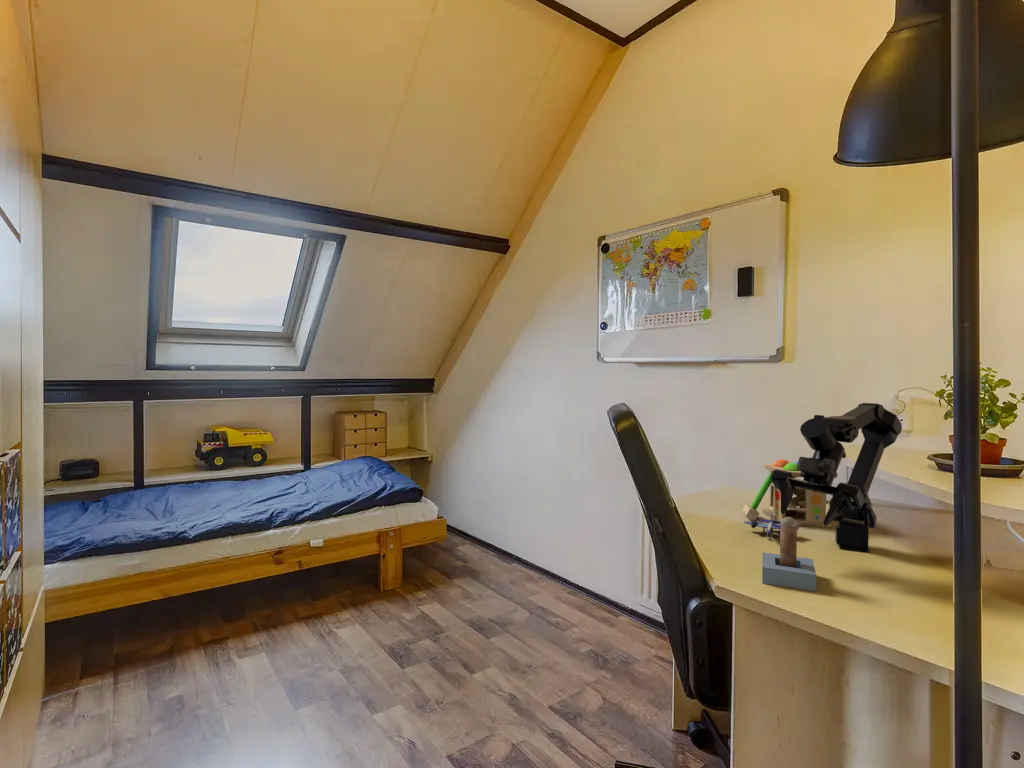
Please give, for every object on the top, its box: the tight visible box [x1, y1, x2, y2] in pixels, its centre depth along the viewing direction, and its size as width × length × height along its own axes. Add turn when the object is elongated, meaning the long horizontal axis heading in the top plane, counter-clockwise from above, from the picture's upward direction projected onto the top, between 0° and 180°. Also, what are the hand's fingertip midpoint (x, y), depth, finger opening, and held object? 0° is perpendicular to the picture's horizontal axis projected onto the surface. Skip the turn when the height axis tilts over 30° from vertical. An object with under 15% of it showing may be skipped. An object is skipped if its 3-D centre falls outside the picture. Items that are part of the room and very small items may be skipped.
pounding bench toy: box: [741, 458, 834, 527], centre depth 161 cm, size 23×14×18 cm, turn 89°
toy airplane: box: [743, 512, 800, 541], centre depth 145 cm, size 13×14×4 cm
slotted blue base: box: [761, 552, 817, 593], centre depth 116 cm, size 10×10×4 cm
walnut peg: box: [779, 517, 798, 568], centre depth 115 cm, size 3×3×14 cm
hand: (802, 518), depth 121 cm, fingers open, 9 cm apart
